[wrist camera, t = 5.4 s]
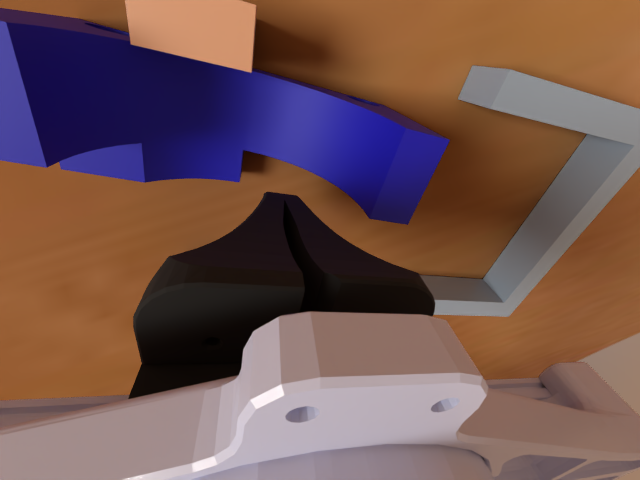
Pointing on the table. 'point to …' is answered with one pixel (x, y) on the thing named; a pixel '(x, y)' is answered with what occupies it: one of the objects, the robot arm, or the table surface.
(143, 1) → the posts
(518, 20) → the table surface
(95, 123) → the blue stepped bar
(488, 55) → the table surface
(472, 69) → the grey bent bracket
